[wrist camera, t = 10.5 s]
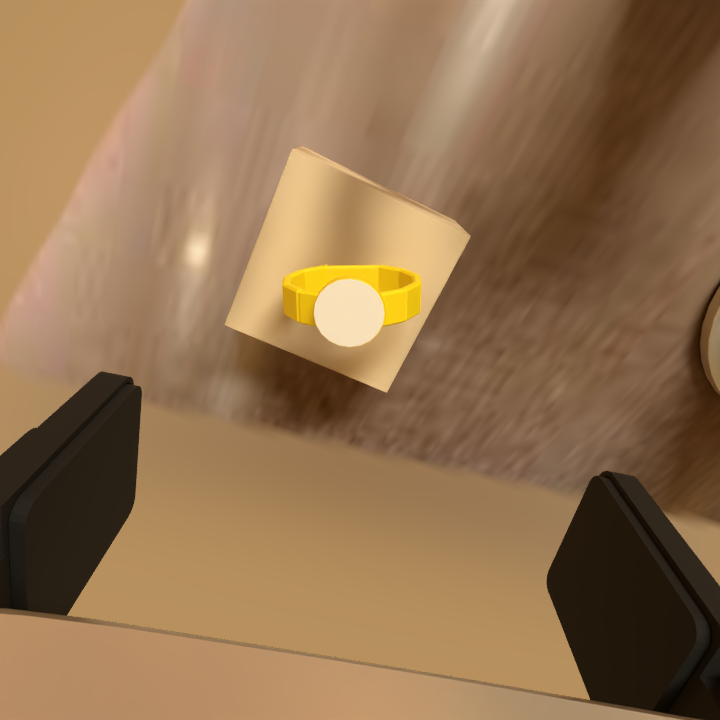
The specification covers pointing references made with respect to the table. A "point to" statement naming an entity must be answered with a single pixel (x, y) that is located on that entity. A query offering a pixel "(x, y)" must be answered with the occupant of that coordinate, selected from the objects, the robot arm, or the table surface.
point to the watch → (351, 300)
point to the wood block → (342, 260)
